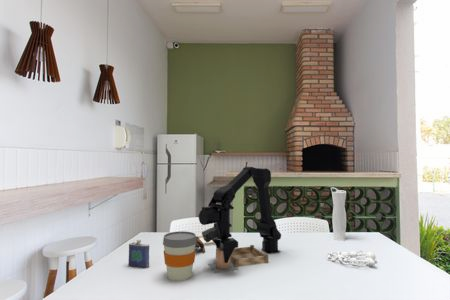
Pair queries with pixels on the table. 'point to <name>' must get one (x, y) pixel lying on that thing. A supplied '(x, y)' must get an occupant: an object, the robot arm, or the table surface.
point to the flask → (138, 255)
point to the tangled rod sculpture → (344, 255)
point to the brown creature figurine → (199, 244)
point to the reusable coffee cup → (179, 254)
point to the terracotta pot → (221, 260)
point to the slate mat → (222, 269)
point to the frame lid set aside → (205, 241)
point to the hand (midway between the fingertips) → (222, 259)
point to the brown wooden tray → (247, 256)
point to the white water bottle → (339, 214)
